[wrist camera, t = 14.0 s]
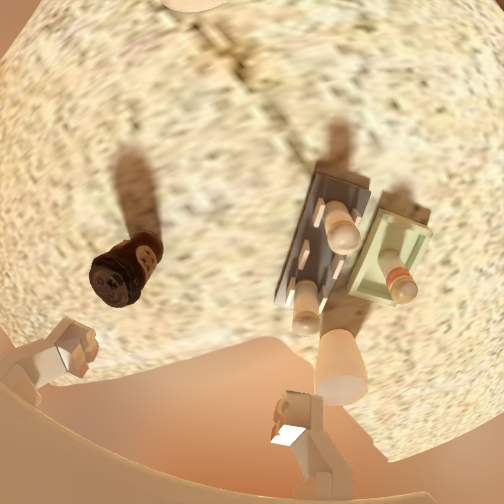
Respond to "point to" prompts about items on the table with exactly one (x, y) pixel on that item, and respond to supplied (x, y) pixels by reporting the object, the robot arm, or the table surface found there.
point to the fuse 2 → (340, 228)
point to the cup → (339, 369)
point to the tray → (379, 239)
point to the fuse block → (319, 240)
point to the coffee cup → (125, 269)
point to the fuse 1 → (306, 308)
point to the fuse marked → (397, 277)
